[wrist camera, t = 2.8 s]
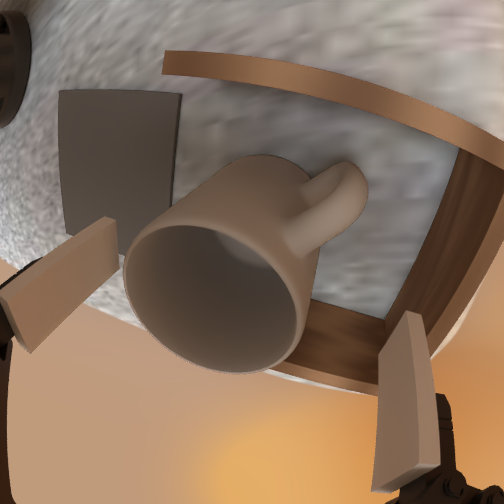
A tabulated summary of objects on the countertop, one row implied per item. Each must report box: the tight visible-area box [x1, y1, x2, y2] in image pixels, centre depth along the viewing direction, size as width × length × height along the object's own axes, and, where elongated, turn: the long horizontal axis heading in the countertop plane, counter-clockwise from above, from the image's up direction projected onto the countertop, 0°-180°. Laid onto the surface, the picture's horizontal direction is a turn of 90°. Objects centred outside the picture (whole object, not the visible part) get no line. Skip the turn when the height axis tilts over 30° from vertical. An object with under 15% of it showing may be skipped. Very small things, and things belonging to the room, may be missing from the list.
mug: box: [123, 155, 368, 374], centre depth 16 cm, size 12×8×11 cm
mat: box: [58, 90, 182, 256], centre depth 24 cm, size 13×15×1 cm
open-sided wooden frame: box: [162, 51, 504, 396], centre depth 18 cm, size 18×17×7 cm
